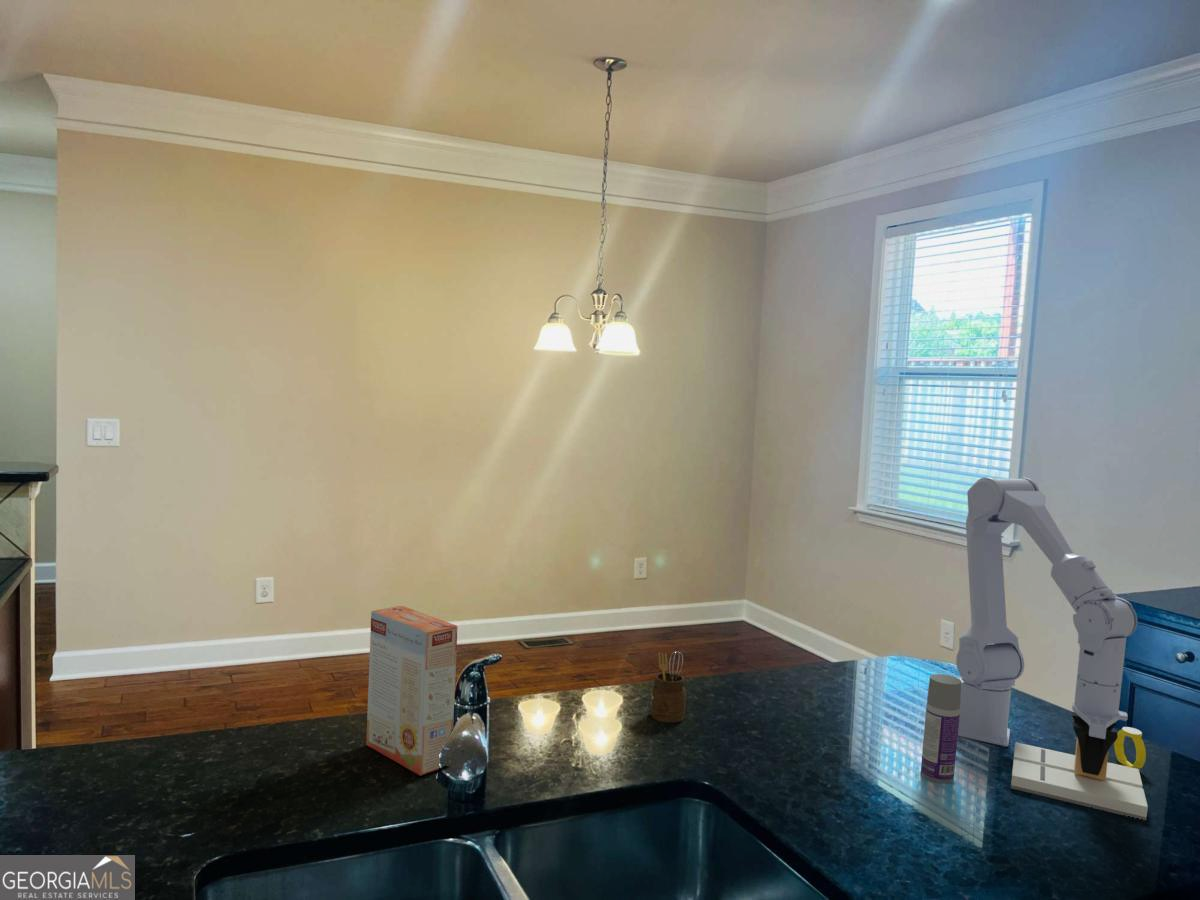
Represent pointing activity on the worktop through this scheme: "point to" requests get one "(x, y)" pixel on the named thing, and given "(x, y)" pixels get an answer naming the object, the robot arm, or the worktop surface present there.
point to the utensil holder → (668, 694)
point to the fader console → (1078, 782)
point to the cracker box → (410, 686)
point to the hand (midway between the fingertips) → (1089, 768)
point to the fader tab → (1079, 769)
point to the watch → (1139, 746)
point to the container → (941, 728)
